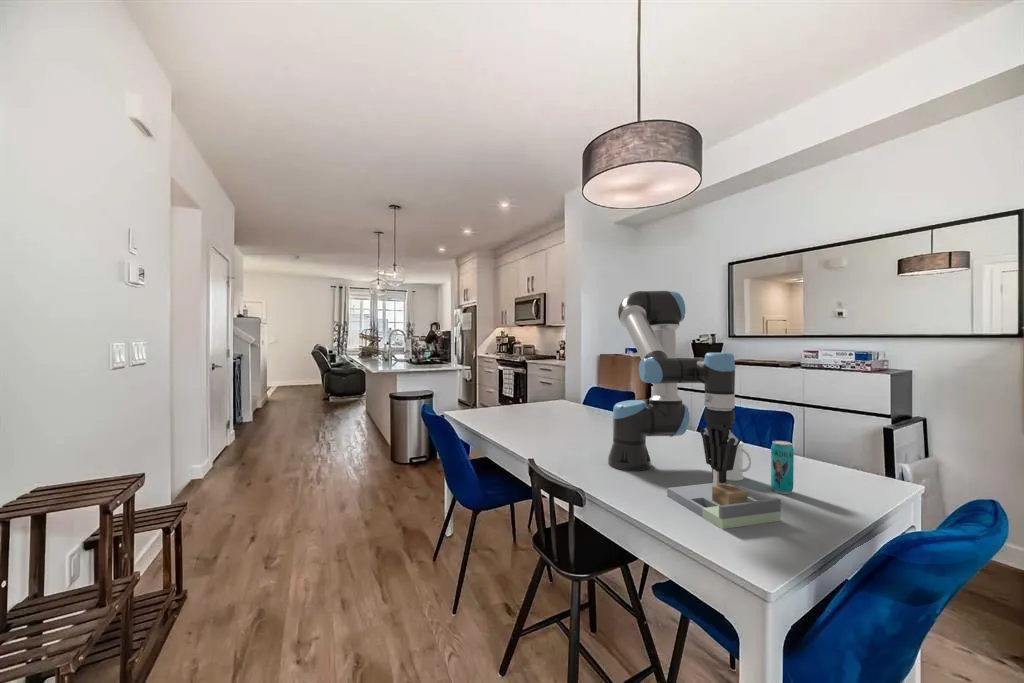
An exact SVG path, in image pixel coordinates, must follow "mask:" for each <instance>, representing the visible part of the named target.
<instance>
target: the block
mask: <svg viewBox="0 0 1024 683" xmlns="http://www.w3.org/2000/svg"><path fill="white" fill-rule="evenodd" d="M748 497H749V496H748V491H747V490H744V489H743V488H740V487H738V486H736V485H734V484H731V483H729V484H728V483H727V484H725V485H718V486H712V501H714V502H716V503H718V504H719V505H729V504H737V503H745V502H748Z"/></svg>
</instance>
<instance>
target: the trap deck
mask: <svg viewBox="0 0 1024 683" xmlns="http://www.w3.org/2000/svg"><path fill="white" fill-rule="evenodd" d="M712 486H713V482H710V483H702V484H700V483H699V484H691V485H690V484H689V485H685V486H683V485H681V486H674V487H673V486H671V487H667V488H666V490H667V491H666V496H667V497H668V498H669V499H671V500H673V501H675V502H677V503H678V504H680V505H681V506H683V507H684V508H686V509H688V510H689V511H691V512H693V513H694V514H695V515H697V516H700V517H701V518H702V519H705V520H706V521H708V522H709V523H711V524H713V525H715V526H716V527H717V528H719V529H721V530H723V529H724V530H725V529H731V528H738V527H746V526H752V525H760V524H766V523H773V522H781V513H782V512H781V508H782V507H781V504H782V502H781V501H782V500H781V499H779V498H770V499H761V500H757V499H755V498H753V497H750V496H748V502H745V503H737V504H729V505H719V504H718V503H716V502H714V501H712Z"/></svg>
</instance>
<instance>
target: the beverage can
mask: <svg viewBox="0 0 1024 683" xmlns="http://www.w3.org/2000/svg"><path fill="white" fill-rule="evenodd" d="M794 451H795V450H794V447H793V443H791V442H790V441H786V440H773V441H772V444H771V447H770V485H771V488H772V490H773V492H775V493H777V494H780V495H790V494H791V493H792V491H793V489H794V463H795V462H794V457H795V456H794V454H795V452H794Z"/></svg>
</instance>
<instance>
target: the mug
mask: <svg viewBox="0 0 1024 683" xmlns="http://www.w3.org/2000/svg"><path fill="white" fill-rule="evenodd" d="M743 447H744V443H743V441H742V440H741V441H740V443H739V445H738V447H737V452H736V456H735V461H734V466H733V470H730V471H727V472H726V481H737V482H738V481H742V480H744V473H745V472H747V471H749V470H750V468H751V465H752V458H751V456H750V454H749V452H748V451H747V450H746V449H745V448H743ZM744 454H745V455H746V457H747V459H748V466H747V467H746V468H744V467H743V466H744V462H743V461H744V459H743V458H744V457H743V456H744Z"/></svg>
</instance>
